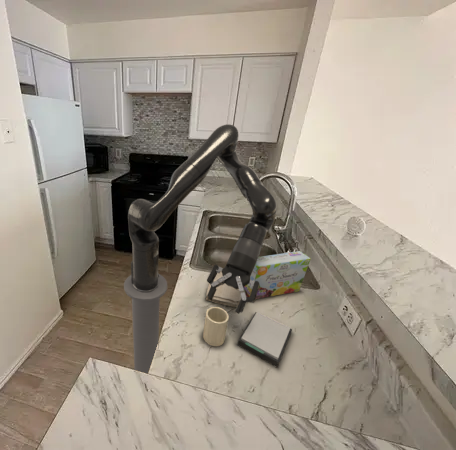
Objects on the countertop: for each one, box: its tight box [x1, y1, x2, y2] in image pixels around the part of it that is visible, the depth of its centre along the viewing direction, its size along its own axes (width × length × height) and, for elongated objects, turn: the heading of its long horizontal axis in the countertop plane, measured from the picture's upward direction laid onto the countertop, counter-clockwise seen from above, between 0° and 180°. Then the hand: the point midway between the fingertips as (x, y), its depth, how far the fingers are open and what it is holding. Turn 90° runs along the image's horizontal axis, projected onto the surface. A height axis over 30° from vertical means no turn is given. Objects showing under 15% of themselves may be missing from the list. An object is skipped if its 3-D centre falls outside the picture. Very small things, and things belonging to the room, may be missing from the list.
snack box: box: [244, 250, 311, 300], centre depth 91 cm, size 21×6×15 cm, turn 105°
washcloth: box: [205, 272, 242, 308], centre depth 94 cm, size 12×18×3 cm, turn 161°
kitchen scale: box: [237, 311, 293, 368], centre depth 74 cm, size 11×14×3 cm
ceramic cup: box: [202, 306, 230, 347], centre depth 73 cm, size 6×6×9 cm
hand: (222, 306), depth 74 cm, fingers open, 8 cm apart
